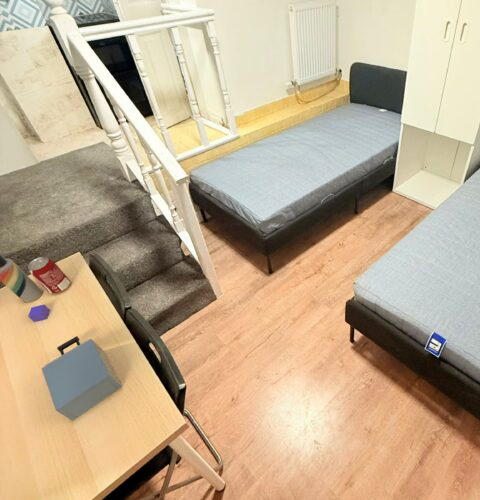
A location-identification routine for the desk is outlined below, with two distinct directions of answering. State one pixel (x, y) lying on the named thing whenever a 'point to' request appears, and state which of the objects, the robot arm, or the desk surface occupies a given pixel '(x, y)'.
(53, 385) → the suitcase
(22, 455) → the desk surface
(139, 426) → the desk surface
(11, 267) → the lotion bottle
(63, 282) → the soda can
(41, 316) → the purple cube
